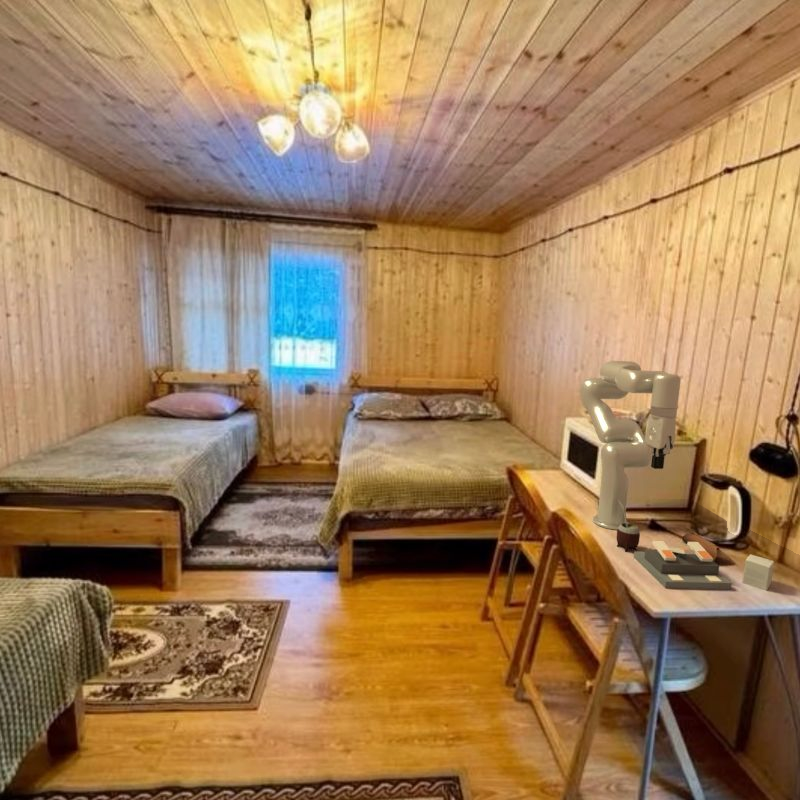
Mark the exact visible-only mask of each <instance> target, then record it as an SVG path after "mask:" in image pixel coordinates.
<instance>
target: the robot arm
mask: <svg viewBox="0 0 800 800" xmlns="http://www.w3.org/2000/svg"><path fill="white" fill-rule="evenodd" d="M599 369H600V370H599V375H600V377H591V378H587V379H585V380H583V381H582V383H581V384H580V387H579V396H580V400H581V403H582V405H583V407H584V409H585V410H586V412H587V414H588V416H589V418H590V419H591V422H592V424H593V428H594V430H595V434H596V436H597V437H598V439H599V441H600V442H601V443H603V444H604V445H602V447H601V450H600V461H601V475H600V476H601V477H600V478H601V479H600V486H599V487H600V490H599V499H598V500H599V501H598V507H597V511H598V512H597V514H596V515H594V516H592V520H593V521H592V522H593V523H594V524H595V525H598V526H600V527H601V528H605V529H610V530H616V531H617V530H618V527H619V525H620V524H622V523H625V517H624V512H623V508H622V506H621V505H620V503H619V502H618V500H619V501H620V502H621V503H622V505H623V506H624V509H625V511H626V512H627V503H628V493H629V483H630V482H629V477H628V475H627V474H626V472H625V470H624V469H643V468H646V467H648V466H649V465H650V464H651V465H650V467H651V468H652V469H657V470H658V469H659V470H663V469H664V464H665V458H666V455H669V454H671V450H673V449H674V447H675V441H676V427H677V425H676V420H677V413H678V405H679V398H680V389H681V382H682V380H681V376H680V375H678V374H675V373H669V372H666V371H661V370H642V368H641V366H640V365H639V364H638V363H637V362H635V361H631V360H630V361H629V360H627V361H626V360H624V361H623V360H611V361H606V362H605V363H604V364H602V365H601V366H600V368H599ZM629 393H631V394H651V400H650V412H649V416H648V419H647V424H646V428H645V433H644V434H645V435H644V434H643V431H642V428H641V426H640V425H639V423H637V421H635V420H632V419H619V418H617V417H616V416H615V414H614V412H613V409H612V408H611V407H610V406H609V405H608V404H607V403H606V402H604V401H603V400H621V399H623V398H625V397H626V396H627V395H628V394H629ZM650 448H651V449H650ZM626 512H625V513H626ZM627 523H629V522H628V520H627Z"/></svg>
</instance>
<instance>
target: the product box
mask: <svg viewBox="0 0 800 800" xmlns="http://www.w3.org/2000/svg"><path fill="white" fill-rule="evenodd" d="M744 562H745V563H744V569H743V575H742V584H745V585H748V586H751V587H753V588H757V589H760V590H763V591H766V592H767V591H768V590H769V587H770V585H771V584H772V578H773V572H774V565H775V561H774V560H771V559H768V558H765V557H761V556H757V555H754V554H749V555H748V556H747V558H746V559H745V561H744Z"/></svg>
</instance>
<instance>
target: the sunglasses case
mask: <svg viewBox="0 0 800 800" xmlns="http://www.w3.org/2000/svg"><path fill="white" fill-rule="evenodd" d="M682 542H684V543H685V544H687V543H688V542H698V543H699V544H700V545H701V546H702V547H703V548H704V549H705V550H706V551H707V553H708V554H709V555H710V556H711V557H712V558H713V561H714V562H715V563H716V564H718V565H719V566H738V564H737V563H736V562H735V561H734V560H733V558H731V557H730V556H729V555H728V554H727V553H725V552H724V551H722V550H721V549H720V547H719V546H718V545H716V544H715V543H713V542H711V541H709V540H707V539H706V538H703V537H702V536H699V535H696V534H693V533H685V534H684V535H683V536H682Z"/></svg>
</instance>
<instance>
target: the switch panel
mask: <svg viewBox="0 0 800 800" xmlns="http://www.w3.org/2000/svg"><path fill="white" fill-rule="evenodd" d="M644 550H645V551H633V558H634V559H635V560H636V561H637V563H639V564H640V565H641V566H642V567H643V568H644V569H645V570H646V571H647V572H648V573H649V574H650V575H651V576H652V577H653V578H654V579H655V580H656V581H657V582H659V583H660V585H662V586H663V588H664V589H689V590H691V589H693V590H731V589H732V588H731V587H732V582H730V581H729V580H728V579H727V578H726V577H724V576H723V575H722V574H720V573H719V572H720V565H718V564H716V563H715V562H714V561H712V562H708V561H701V560H700V559H699V558H698V557H697V556H695V554H686V556H678V553H676V552H672V553H673V554H674V555H675V557H676V561H671V560H664V558H663V557H662V556H660V554H659V552H658V551H657V549H656V548H655V549H653V548H652V549H649V548H645V549H644Z"/></svg>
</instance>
